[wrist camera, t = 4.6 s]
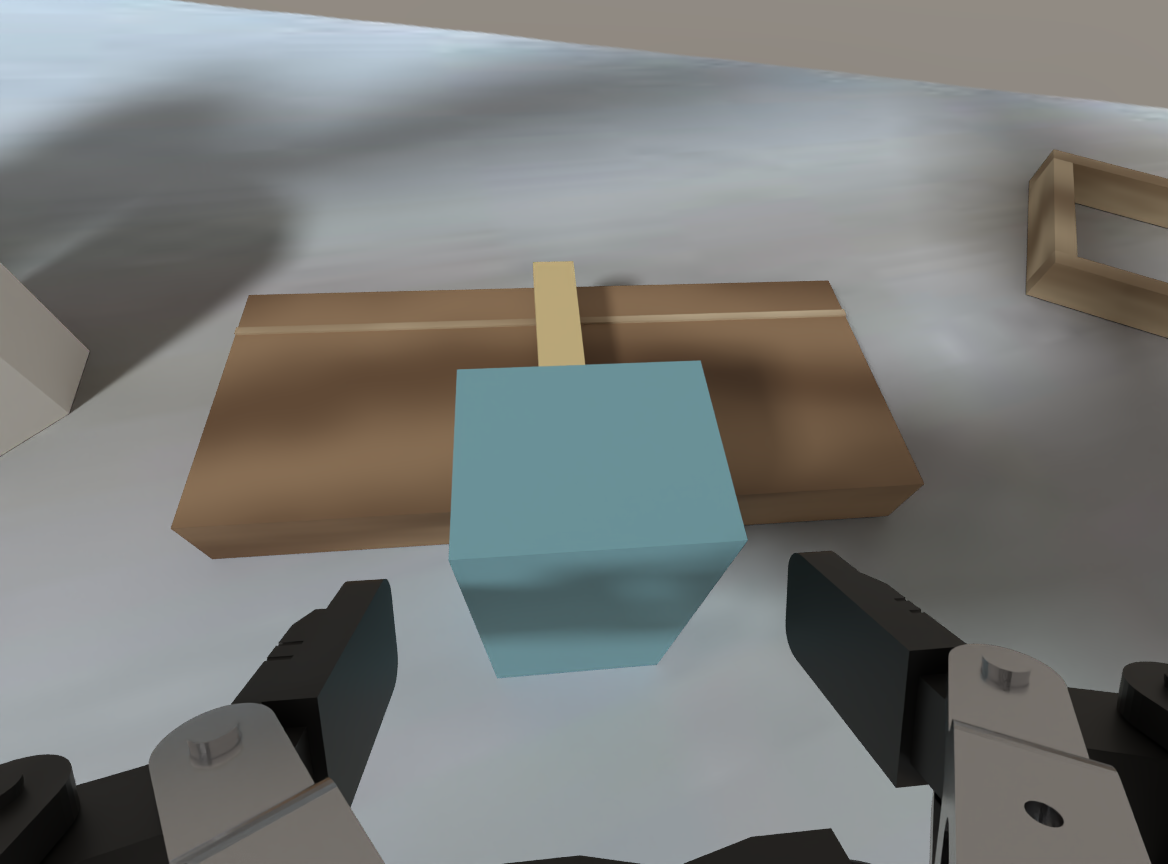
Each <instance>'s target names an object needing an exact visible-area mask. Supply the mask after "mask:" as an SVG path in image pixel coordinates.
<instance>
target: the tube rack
mask: <svg viewBox="0 0 1168 864" xmlns="http://www.w3.org/2000/svg"><path fill="white" fill-rule="evenodd" d="M1075 203H1078V204H1081V205H1085V206H1089V207H1092V208H1096V209H1100V210H1103V211H1107V212H1111V213H1114V214H1118V215H1122V216H1125V217H1129V218H1133V219H1136V220H1140V221H1143V222H1147V223H1151V224H1154V225H1158V226H1162V227H1165V228H1168V179H1166V178H1162V177H1159V176H1155V175H1151V174H1147V173H1143V172H1139V171H1135V170H1132V169H1128V168H1124V167H1120V166H1116V165H1112V164H1108V163H1104V162H1101V161H1097V160H1093V159H1089V158H1085V157H1081V156H1077V155H1074V154H1070V153H1066V152H1062V151H1058V150H1054V149H1053V151H1052V152H1051V153H1050V155H1049V156H1048V157H1047V159H1046V160H1045V161H1044V163H1043V164H1042V165H1041V167H1040V168H1039V169H1038V171H1037V172H1036V173H1035V174H1034V176H1033V177H1032V178H1031V180H1030V181H1029V207H1028V242H1027V276H1026V294H1027V295H1030V296H1033V297H1036V298H1039V299H1043V300H1046V301H1049V302H1052V303H1056V304H1059V305H1062V306H1065V307H1069V308H1072V309H1075V310H1078V311H1082V312H1085V313H1088V314H1091V315H1095V316H1098V317H1101V318H1104V319H1107V320H1111V321H1114V322H1117V323H1120V324H1124V325H1127V326H1130V327H1133V328H1137V329H1140V330H1143V331H1146V332H1150V333H1153V334H1156V335H1159V336H1163V337H1166V338H1168V283H1166V282H1162V281H1159V280H1156V279H1152V278H1149V277H1145V276H1142V275H1138V274H1135V273H1132V272H1128V271H1125V270H1121V269H1118V268H1114V267H1111V266H1108V265H1104V264H1101V263H1097V262H1094V261H1090V260H1087V259H1084V258H1080V257H1077V237H1076V217H1075Z"/></svg>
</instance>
